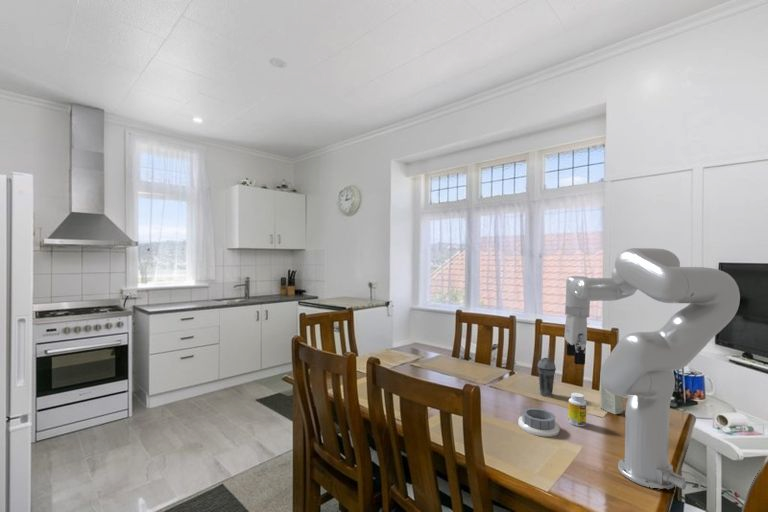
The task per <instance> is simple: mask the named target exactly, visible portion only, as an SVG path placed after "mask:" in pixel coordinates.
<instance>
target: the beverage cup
mask: <svg viewBox="0 0 768 512" xmlns="http://www.w3.org/2000/svg"><path fill="white" fill-rule="evenodd" d="M547 350H548V351H547V357H543V358H541V359H539V360H538V363H537V366H536V368H537V372H538V381H539V383H538V384H539V394H540V395H541V396H542V395H544V396H543V397H546V396H551V397H552V396H553V389H554V383H555V382H554V380H555V374H556V370H557V369H556V363H555V361H553V359H551V358H550V357H549V356H550V347H548V349H547Z"/></svg>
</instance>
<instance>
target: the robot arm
mask: <svg viewBox="0 0 768 512" xmlns="http://www.w3.org/2000/svg"><path fill="white" fill-rule="evenodd" d="M637 291H640V292H642V293H643V294H645V295H646V296H648V297H649V298H651V299H653V300H655V301H657V302H661V303H665V304H688V305H687V306H685V307H684V308H682V309H680V310H678V311H677V312H676V313H674V314H673V315H671V317H670V318H669V320H667V322H666V323H665V324H664V325H663V326H662V327H661V328H660V329H658V330H655V331H637V332H631V333H628V334H626V335H625V336H624V337H622V338H621V339H620V340H619V341H618V342H617V343H616V345H615V347H614V348H613V349H612V351H611V352H610V353H609V355H608V356H607V358H606V359H605V360H604V361H603V363H602V366H601V367H600V375H599V376H600V378H601V382H602V384H603V386H604V387H605V389H606V390H607V391H609V392H610V393H612V394H614V395H618V396H622V397H628V399H627V401H626V404H625V405H626V406H625V413H626V415H625V426H624V427H625V428H624V431H625V433H624V458H623V459H620V460H619V461H618V463H617V469H618V471H619V472H620V473H621V474H622V475H623V476H624V477H626V478H627V479H628V480H630V481H631V482H633V483H636V484H638V485H640V486H643V487H645V488H649V487H650V488H649V489H653V488H666V489H667V490H670V489H673V488H674V487H678V488H680V489H682V490H686V487H687V482H686V477H684V476H682V475H680V474H677V473H675V472H674V470H673V468H674V467H673V464H670V463H669V446H670V445H669V443H670V442H669V441H670V440H669V438H670V435H669V434H670V410H671V402H672V397H673V394H674V390H675V385H676V381H675V380H676V379H675V373H674V372H673V371H678V370H682V369H684V368H685V367H687V366H688V364H690V363H691V362H692V361H693V360H694V358H696V356H697V355H699V354H700V352H701V351H702V350H704V348H705V347H706V346H707V345H708V344H709V343H710V341H711V340H712V339H713V338H714V337H716V335H718V334H719V333H720V332H721V331H722V330H723V329H724V328H725V327H726V326H727V325H728V324H730V322H731V321H732V320H733V319H734V317H735V316H736V314H737V312H738V310H739V306H740V300H741V294H740V288H739V285H738V284H737V281H736V280H735V279H734V278H733V277H732V276H731V275H730V274H729V273H728V272H725V271H723V270H720V269H718V268H712V267H704V266H703V267H702V266H681V262H680V259H679V258H678V256H677V255H676V254H675V253H673V252H672V251H671V250H668V249H664V248H654V247H653V248H650V247H649V248H647V247H645V248H643V247H641V248H640V247H636V248H635V247H634V248H633V247H632V248H631V247H630V248H628V249H625V250H623V251H621V252H620V253H619V254H618V255H617V257H616V259H615V262H614V267H612V270H611V277H587V276H584V275H583V276H582V275H581V276H580V275H571V276H570V275H569V276H568V277H567V278H566V283H565V309H564V310H565V311H564V315H565V316H566V317H565V325H564V336H563V337H564V339H565V341H566V351H565V352H566V356H571V357H574V359H573V363H574V364H575V365H584V366H585V364H586V346H587V343H588V342H587V341H588V318H590V309H591V307H590V306H591V302H598V301H599V302H601V301H602V302H603V301H604V302H612V301H613V302H614V301H618V300H621V299H626V298H629V297H631V296H633V295H634V294H635V293H636V292H637Z"/></svg>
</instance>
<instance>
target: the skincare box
mask: <svg viewBox="0 0 768 512" xmlns="http://www.w3.org/2000/svg"><path fill="white" fill-rule="evenodd" d="M599 379H600V382H599V383H600V385H599V386H600V388H599V389H600V391H599V392H600V393H599V394H600V409H601V408H602V409H601V410H603V409H604V410H603V411H605V410H606V412H608V413H610V414H613V415H618V414H623V406H624V405H623V402H624V401H623V396H618V395H614V394H612V393H610V392H609V391H607V390H606V389H605V387H604V386H603V384H602V382H601V377H600V378H599Z"/></svg>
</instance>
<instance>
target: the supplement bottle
mask: <svg viewBox="0 0 768 512" xmlns="http://www.w3.org/2000/svg"><path fill="white" fill-rule="evenodd" d="M567 415H568V416H567V417H568V423H569V424H571V425H573V426H575V427H585V426H586V424H587V401H586V400H585V395H584V394H582V393H579V392H571V396H570V398H569V399H568V414H567Z"/></svg>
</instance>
